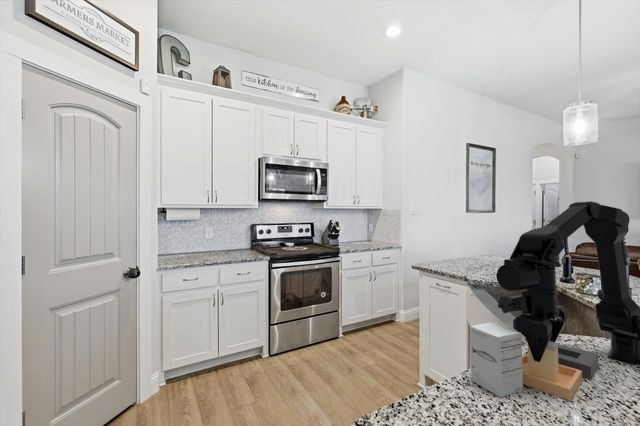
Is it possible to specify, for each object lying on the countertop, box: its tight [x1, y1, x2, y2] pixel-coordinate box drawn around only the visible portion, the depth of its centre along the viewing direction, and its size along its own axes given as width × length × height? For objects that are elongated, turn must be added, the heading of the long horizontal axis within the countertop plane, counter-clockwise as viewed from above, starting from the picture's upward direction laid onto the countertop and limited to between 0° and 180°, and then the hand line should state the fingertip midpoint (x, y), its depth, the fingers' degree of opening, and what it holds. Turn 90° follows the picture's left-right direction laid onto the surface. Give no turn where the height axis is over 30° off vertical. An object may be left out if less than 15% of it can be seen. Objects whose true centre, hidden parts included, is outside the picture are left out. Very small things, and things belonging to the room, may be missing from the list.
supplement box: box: [469, 321, 524, 398], centre depth 65 cm, size 7×7×13 cm
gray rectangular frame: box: [558, 343, 600, 381], centre depth 75 cm, size 10×12×3 cm
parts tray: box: [522, 353, 583, 402], centre depth 68 cm, size 12×12×2 cm
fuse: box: [527, 341, 559, 383], centre depth 68 cm, size 3×5×8 cm, turn 39°
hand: (543, 355), depth 68 cm, fingers open, 9 cm apart
